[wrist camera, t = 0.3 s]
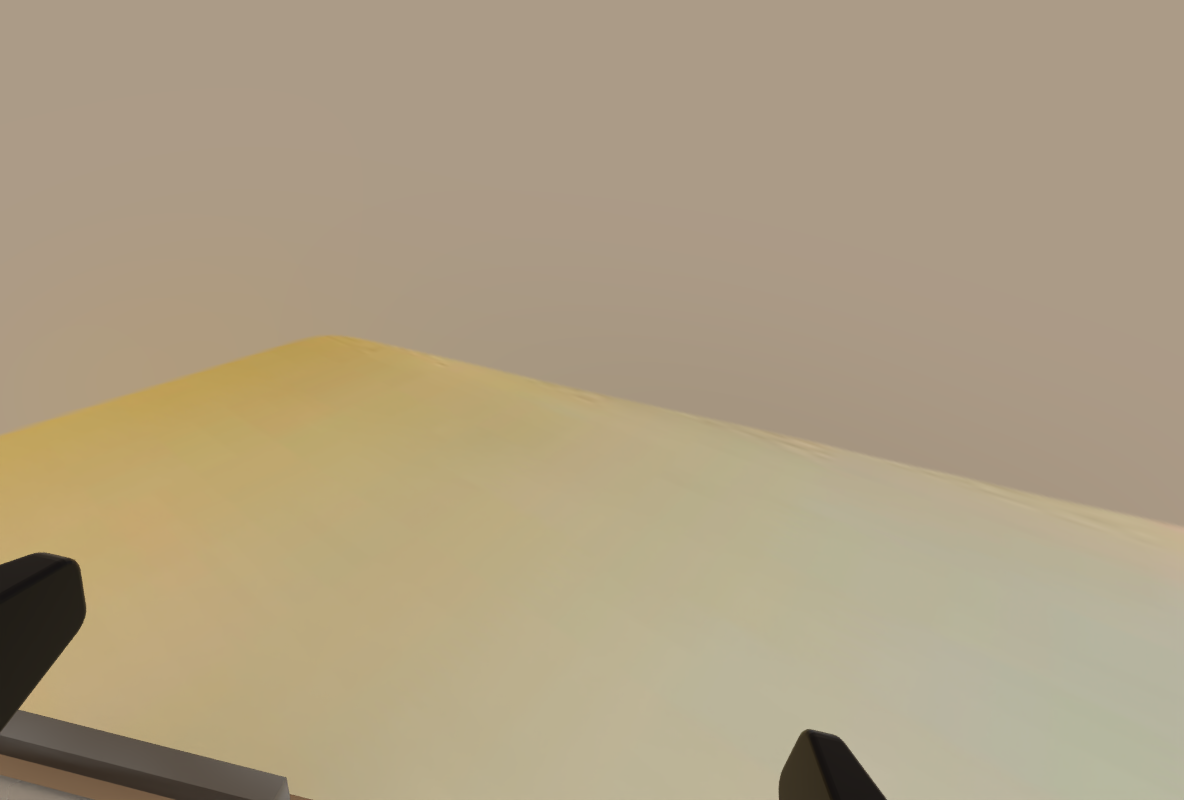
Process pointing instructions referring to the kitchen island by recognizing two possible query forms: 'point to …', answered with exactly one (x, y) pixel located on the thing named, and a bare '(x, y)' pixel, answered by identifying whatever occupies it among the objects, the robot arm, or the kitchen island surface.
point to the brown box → (123, 766)
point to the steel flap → (31, 791)
